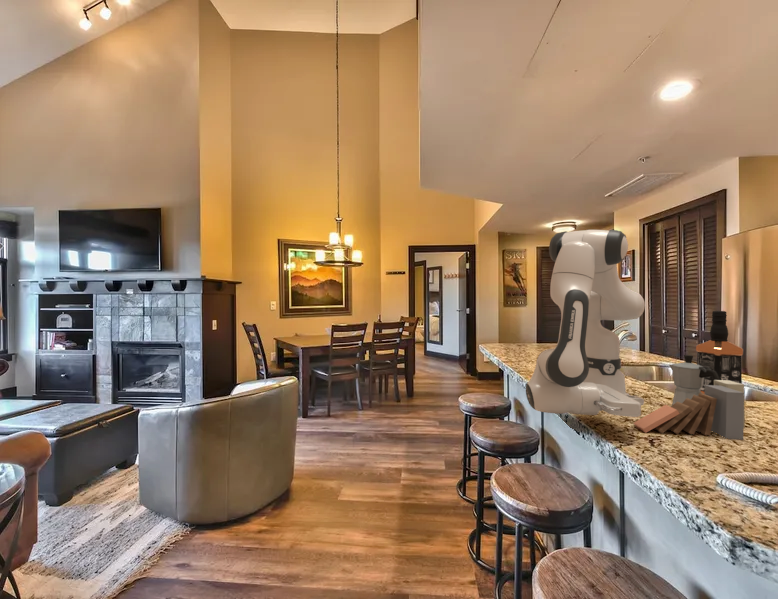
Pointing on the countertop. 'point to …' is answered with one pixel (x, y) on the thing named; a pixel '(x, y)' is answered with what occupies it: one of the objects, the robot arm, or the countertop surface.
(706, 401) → the walnut domino
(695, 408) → the walnut domino
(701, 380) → the coffee maker
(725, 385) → the skincare box
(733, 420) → the end block
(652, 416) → the terracotta domino
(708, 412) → the walnut domino
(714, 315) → the whiskey bottle
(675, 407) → the walnut domino
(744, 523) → the countertop surface
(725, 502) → the countertop surface
